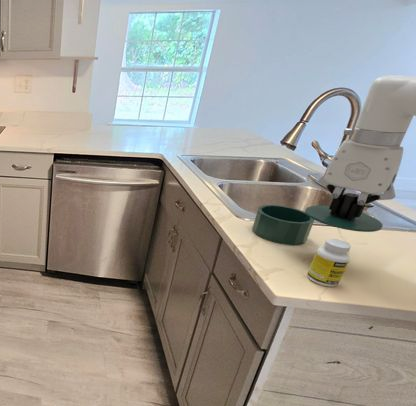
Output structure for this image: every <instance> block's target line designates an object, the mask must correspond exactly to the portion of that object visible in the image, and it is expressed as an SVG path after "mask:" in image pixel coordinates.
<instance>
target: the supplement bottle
mask: <svg viewBox="0 0 416 406" xmlns="http://www.w3.org/2000/svg"><path fill="white" fill-rule="evenodd" d="M351 247H352V246H351V244H350V243H348V242H346V241H344V240H342V239H341V240H340V239H336V238H327V239H326V240H325V241H324V244H323V246H321V247H318V248H317V250H316V252H315V254H314V256H313V259H312V261H311V264H310V266H309V268H308V270H307V273H306V277H307V279H308V280H310V281H312V282H313V283H315V284H318V285H320V286H323V287H329V288H330V287H331V288H332V287H333V288H334V287H337V286H338V285H339V283H340V282H341V279H342V277H343V275H344V273H345V271H346V269H347V267H348V265H349V263H350V260H351V257H350V255H349V254H348V253H349V252H350V249H351Z"/></svg>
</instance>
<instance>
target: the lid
mask: <svg viewBox="0 0 416 406" xmlns="http://www.w3.org/2000/svg"><path fill="white" fill-rule="evenodd" d="M359 197H360V195H359V194H356V193H352V192H345V193H344V196H343V198H342V201H341V203H340V206H339V208H338V210H337V213H336V214H335V215H330V212H331V210H330V209H329V207H330V205H310V206H308V207H306V208H305V211H304V212H305V213H306V214H307V215H308V216H309V217H310V218H312V219H314V221H316V222H318V223H320V224H324V225H326V226H330V227H333V228H337V229H341V230H347V231H350V232H351V231H352V232H361V233H375V232H379V231H381V230H382V229H383V226H384V225H383V223H382V222H381V221H380V220H379V219H377V218H376V217H373V216H371V215H368V214H366V213H364V212H362V214H361V216H360V217H356V218H355V219H353V220H348V219H347V217H348V215H349V213H350V210H351V208H352V206H353V204H354V203H356V202H357V201H358V199H359Z"/></svg>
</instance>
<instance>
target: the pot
mask: <svg viewBox="0 0 416 406" xmlns="http://www.w3.org/2000/svg"><path fill="white" fill-rule="evenodd" d="M257 208H258V209H257V212H256V214H255V218H254V221H253V224H252V228H251V230H252V232H253V233H254V235H256V236H258V237H260V238H262V239H263V240H266V241H269V242H272V243H277V244H281V245H288V246H300V245H303V244H305V243H307V241H308V238H309V236H310V233H311V231H312V228H313V225H314V223H315V220H314V219H312V218H310V217H309V216H308V215H307V214H306V213H305V211H304V210H301V209H298V208H294V207H290V206H286V205H280V204H263V205H260V206H259V207H257Z"/></svg>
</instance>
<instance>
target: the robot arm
mask: <svg viewBox="0 0 416 406" xmlns="http://www.w3.org/2000/svg"><path fill="white" fill-rule="evenodd" d="M414 117H416V75H393V74H392V75H383V76H379V77H377V78H376V79H374V80H373V82H372V83H371V85H370V88H369V90H368V92H367V95H366V98H365V100H364V102H363V105H362V108H361V110H360V113H359V115H358V118H357V121H356V123H355V125H354V126H353V127H350V128H349V127H345V129H344V131H343V135H347V136H348V139H346V140H345V139H344V140H343V141H342V142H341V144H340V146H339V148H338V149H337V151H336V152H335V154H334V156H333V158H332V160H331V162H330V164H329V166H328V168H327V169H326V172H325V174H324V175H323V176H322V177H321V178H319V179H318V183H319V184H320V185H322V186H323V187H325V188H327V190H328V192H329V193H330V194H331V198H332V200H331V202H330V204H329V206H330V207H329V209H330V210H331V212H330V215H335V214H336V213H337V210H338V208H339V206H340V203H341V201H342V198H343V196H344V194H345V193H346V190H347V189H348V190H352V191H356V192H360V194H359V198H358V200H357V202H356V203H354V204H353V206H352V208H351V210H350V213H349V215H348V217H347V219H348V220H353V219H355V218H356V217H360V216H361V214H362V213H364V210H365V207H366V205H367V204H370V203H372V202H376V201H389V200H393V199H395V198H396V192H395V187H394V183H395V181H396V178H397V175H398V173H399V170H400V167H401V164H402V159H403V154H404V147H403V146H401V144H402V143H403V140H404V138H405V136H406V133H407V132H408V129H409V128H410V124H411V123H412V120H413V118H414Z"/></svg>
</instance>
